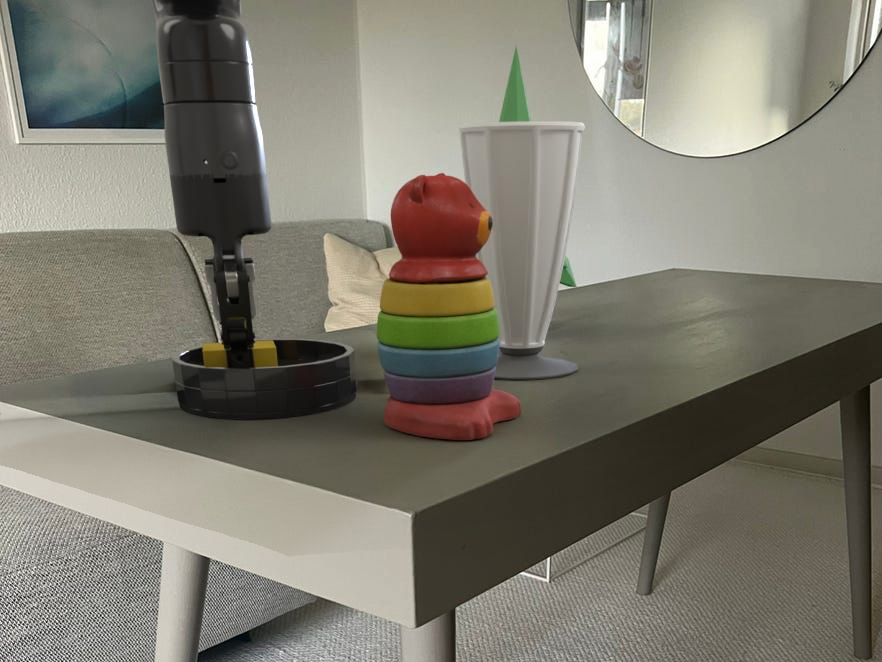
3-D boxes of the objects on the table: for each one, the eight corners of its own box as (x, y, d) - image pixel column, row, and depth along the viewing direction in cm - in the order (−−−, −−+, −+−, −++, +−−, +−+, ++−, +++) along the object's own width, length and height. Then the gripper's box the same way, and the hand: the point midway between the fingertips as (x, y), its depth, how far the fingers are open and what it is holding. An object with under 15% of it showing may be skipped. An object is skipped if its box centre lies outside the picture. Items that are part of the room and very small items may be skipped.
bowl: (177, 424, 78) (169, 373, 76) (181, 388, 92) (175, 343, 90) (367, 412, 81) (364, 362, 80) (344, 378, 95) (341, 335, 93)
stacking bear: (480, 443, 72) (476, 172, 64) (356, 433, 75) (339, 174, 67) (528, 412, 81) (530, 171, 73) (415, 403, 84) (406, 173, 76)
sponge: (208, 399, 83) (202, 351, 82) (208, 390, 87) (202, 343, 85) (280, 395, 85) (275, 347, 83) (277, 386, 88) (273, 340, 87)
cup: (592, 377, 94) (602, 120, 84) (473, 383, 92) (470, 121, 83) (561, 356, 104) (567, 125, 95) (454, 361, 102) (448, 126, 93)
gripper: (171, 170, 84) (199, 376, 91) (165, 170, 71) (198, 408, 79) (261, 169, 85) (281, 371, 93) (271, 168, 73) (293, 402, 80)
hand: (243, 387), depth 86 cm, fingers closed on sponge, 4 cm apart
